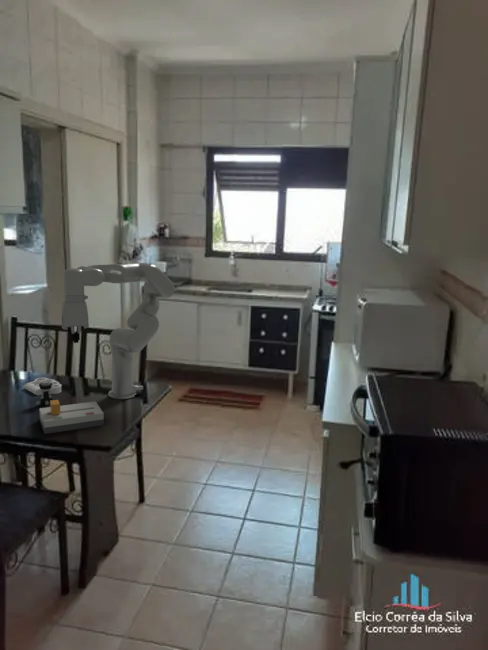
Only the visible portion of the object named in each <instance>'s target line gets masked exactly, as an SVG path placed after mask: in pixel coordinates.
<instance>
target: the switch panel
mask: <svg viewBox="0 0 488 650" xmlns="http://www.w3.org/2000/svg"><path fill="white" fill-rule="evenodd" d="M104 417H105V415H104V411H103V410H102V409H101V407H100V405H98V403H97V401H88V402H80V403H72V404H66V405H65V404H63V405H60V414H55V415H52V413H51V411H50V406H48V407H40V408H39V422H40V425H41V428H42V430H43V434H45V435H47V434H53V433H60V432H65V431H66V432H67V431H73V430H80V429H87V428H94V427H102V426H104V424H105V422H104V421H105V420H104V419H105V418H104Z"/></svg>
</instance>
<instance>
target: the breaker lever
mask: <svg viewBox="0 0 488 650" xmlns="http://www.w3.org/2000/svg"><path fill="white" fill-rule="evenodd" d="M60 406H61V404H60V401H59V399H52V401H50V404H49V407H50V411H51V413H52V415H55V414H60Z"/></svg>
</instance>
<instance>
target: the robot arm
mask: <svg viewBox="0 0 488 650" xmlns="http://www.w3.org/2000/svg"><path fill="white" fill-rule="evenodd" d="M63 274H64V277H63V278H64V301H63V302H62V305H61V307H62V308H61V324H62V325H61V329H63V330H65V331H66V330H67V331H69V332H70V333H71V341H72V342H73V343H74V344H78V343H80V337H81V336H80V334H81V332H83V330H84V329H87V328H89V327H90V326H89V325H90V324H89V312H88V311H89V310H88V305H87V302H86V301H85V300H88V299H89V296H88V295H85V287H98V286H100V285H102V284H103V283H110V284H128V283H137V282H138V283H139V282H143V300H142V302H141V303H140V304H139V305H138V306H137V308H136V309H135V310H134V311H133V312H132V313H131V314H130V315H129V316H128V318H127V321H126V326H127V327H128V328H125V327H118V328H115V329H113V330H112V331H111V333H110V335H109V345H110V350H111V390H109V391H108V393H107V394H108V396H109V397H110V398H111V399H115V400H127V399H131V398H134V397H135V395H137V391H141V390H144V386H143V385H139V384H134V354H137V353H139V352H141V351H142V350H143V349H144V348H145V347H146V345H147V344H149V342H150V341H151V340H152V339H153V337H154V336H155V335H156V333H157V331H158V329H159V326H160V322H159V319H158V318H157V316H156V315H157V313H158V311H159V310H160V298H162V299H169V298H171V297H172V296H173V295H174V293H175V285H174V283H173V282H172V280H171V279H170V278H169V277H168V275H166V274H165V273H164V271H162V270H161V268H159V267H158V266H156V265H155V264H151V263H146V262H132V263H130V262H129V263H118V264H117V263H116V264H115V263H111V264H89V265H81V266H79V267H77V268H71V267H70V268H66V269H65V270H64V273H63ZM75 327H76V330H75Z"/></svg>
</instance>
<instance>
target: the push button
mask: <svg viewBox="0 0 488 650" xmlns="http://www.w3.org/2000/svg"><path fill="white" fill-rule="evenodd" d="M39 386H40V389H41V396H40V399H39V401H36V406H39V405H40V406H50V401H52V400H53V398H52V395H51V394H50V388H52V387H51V386H52V383H50V381H42V382H41V383H40V384H39ZM43 390H44V391H43Z"/></svg>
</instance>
